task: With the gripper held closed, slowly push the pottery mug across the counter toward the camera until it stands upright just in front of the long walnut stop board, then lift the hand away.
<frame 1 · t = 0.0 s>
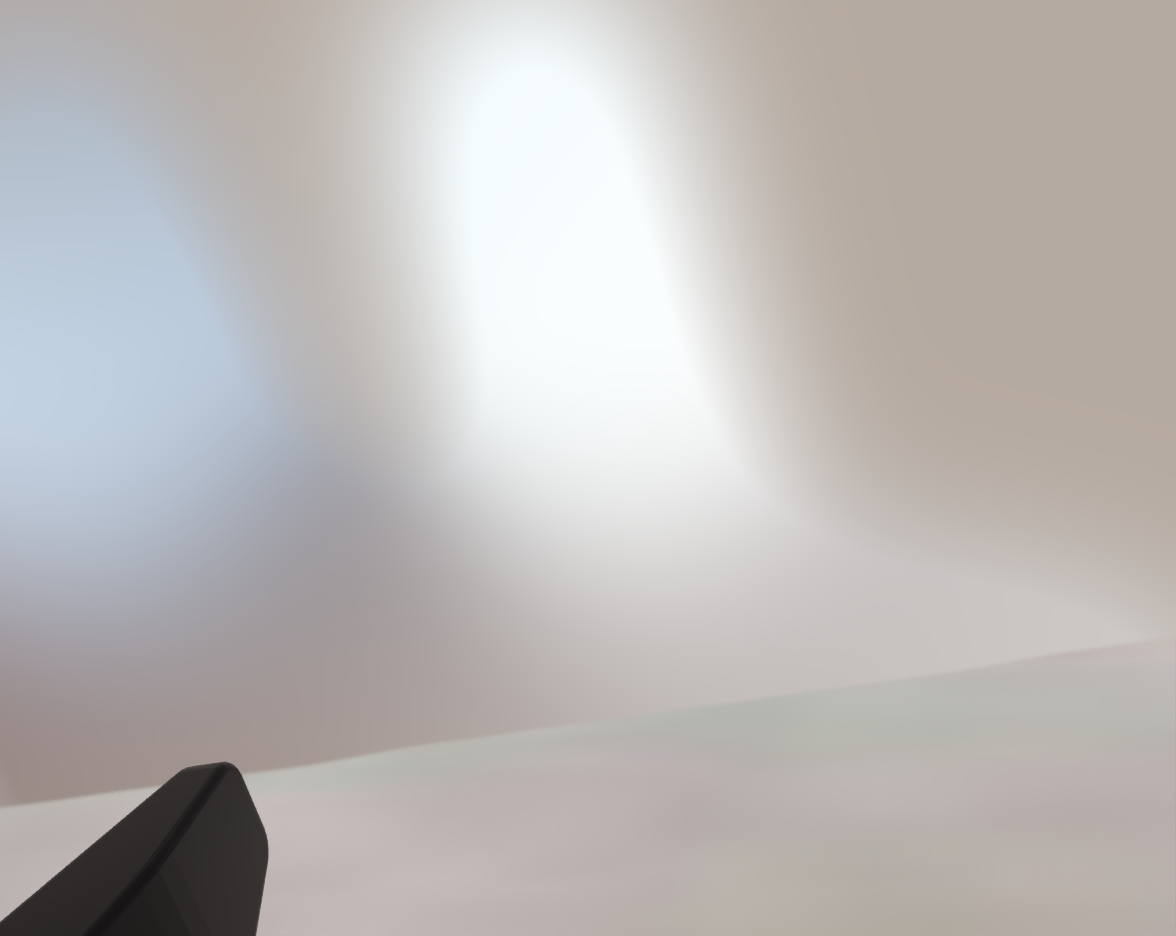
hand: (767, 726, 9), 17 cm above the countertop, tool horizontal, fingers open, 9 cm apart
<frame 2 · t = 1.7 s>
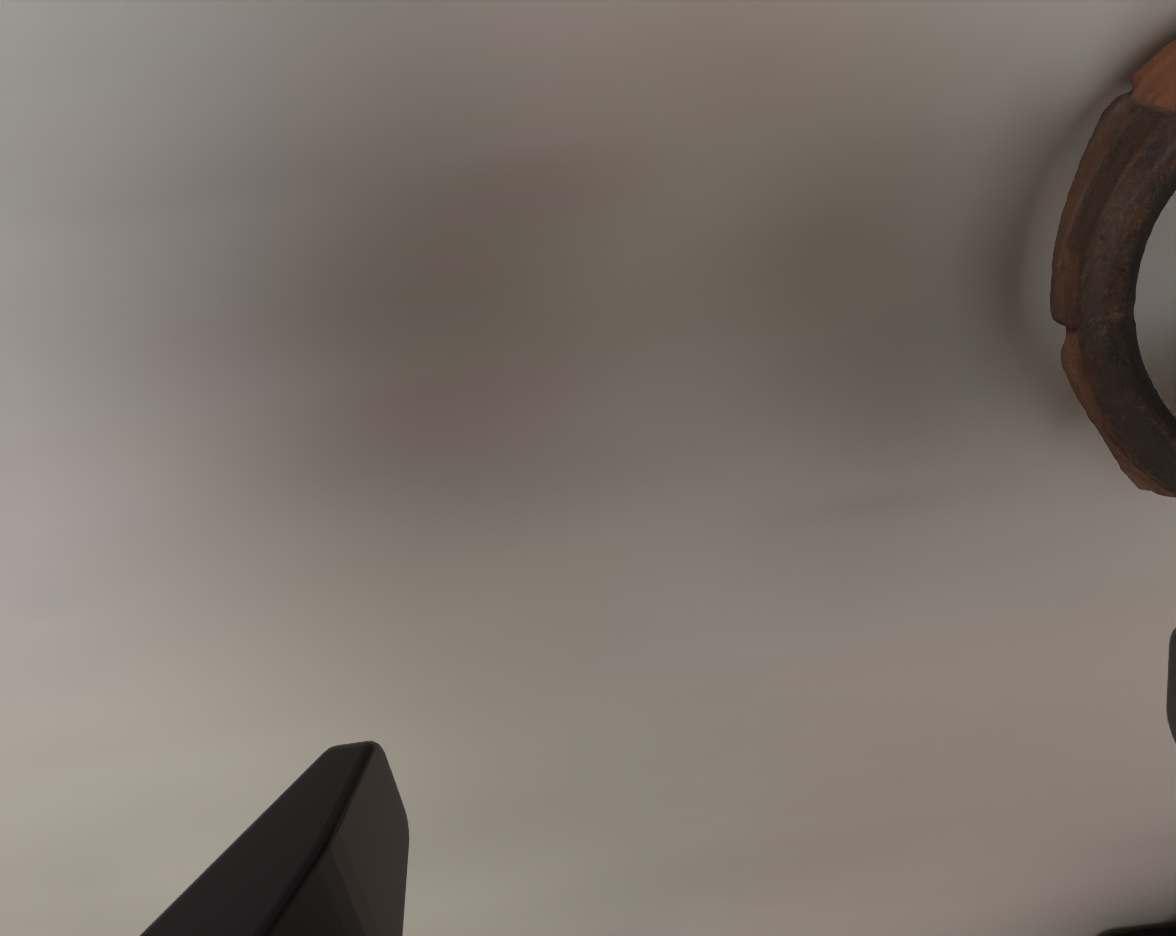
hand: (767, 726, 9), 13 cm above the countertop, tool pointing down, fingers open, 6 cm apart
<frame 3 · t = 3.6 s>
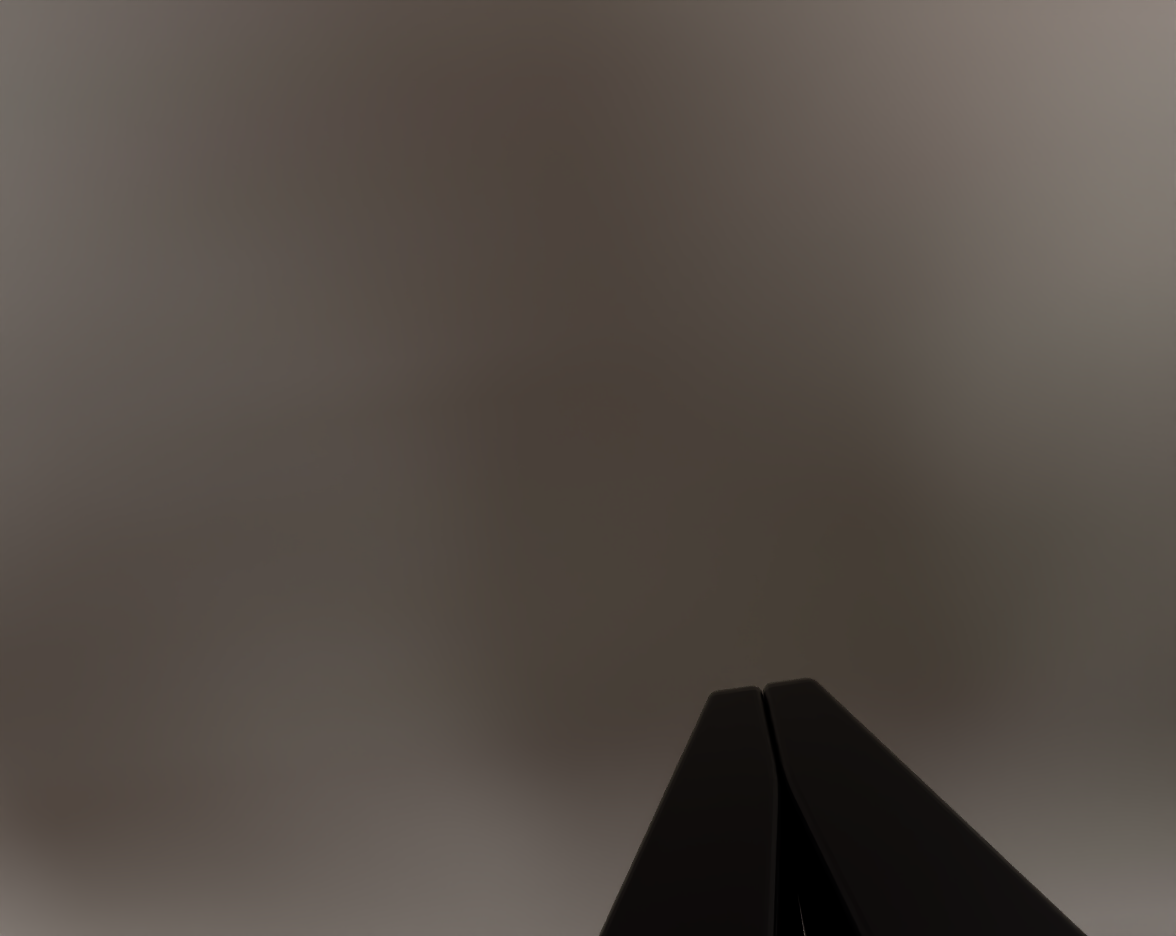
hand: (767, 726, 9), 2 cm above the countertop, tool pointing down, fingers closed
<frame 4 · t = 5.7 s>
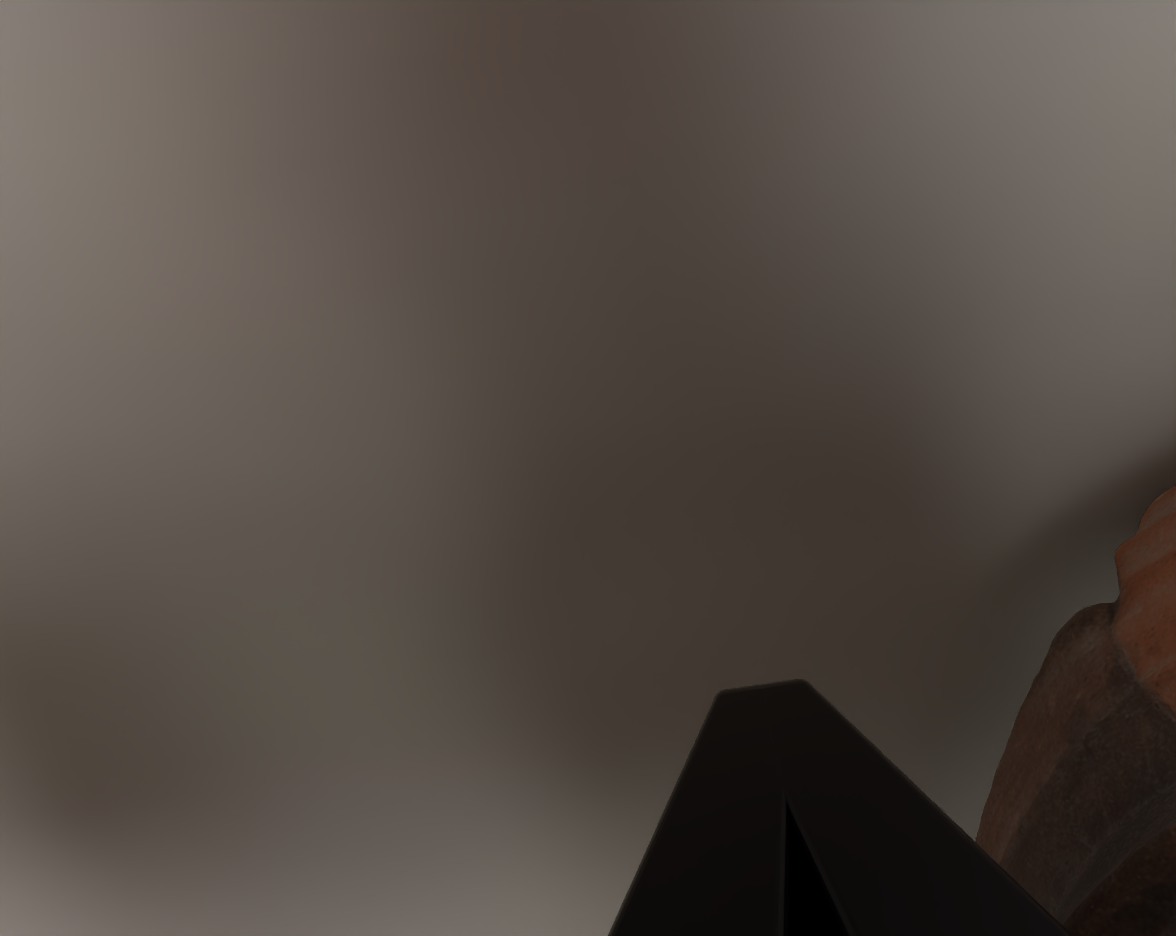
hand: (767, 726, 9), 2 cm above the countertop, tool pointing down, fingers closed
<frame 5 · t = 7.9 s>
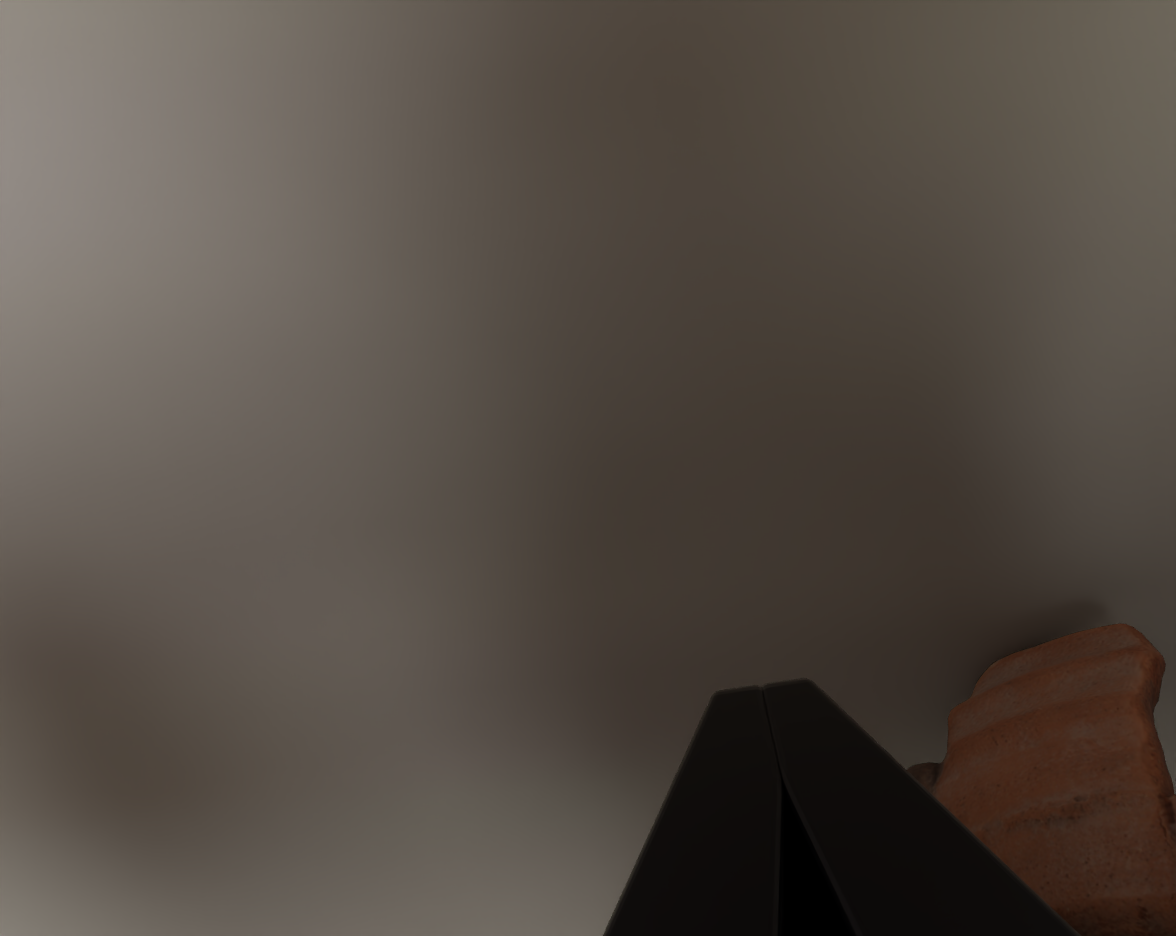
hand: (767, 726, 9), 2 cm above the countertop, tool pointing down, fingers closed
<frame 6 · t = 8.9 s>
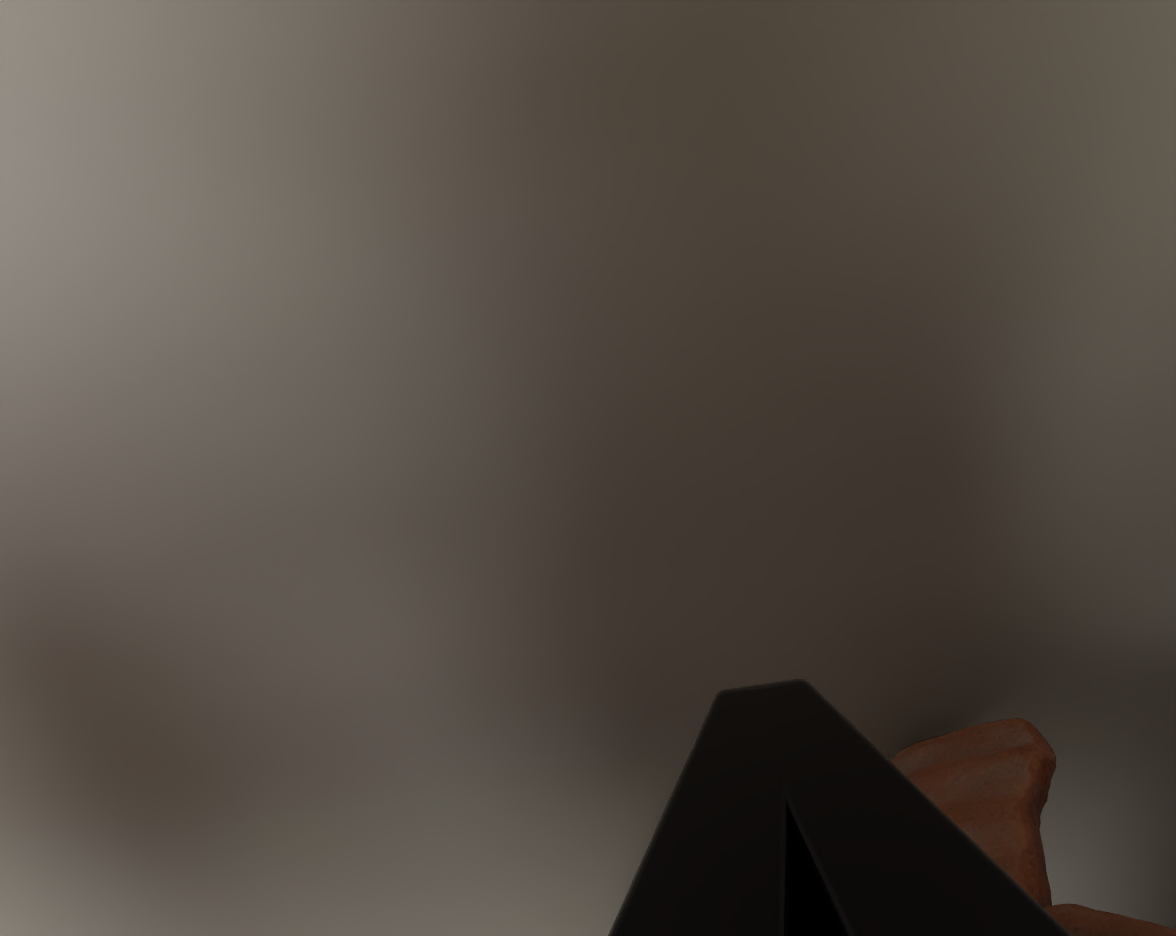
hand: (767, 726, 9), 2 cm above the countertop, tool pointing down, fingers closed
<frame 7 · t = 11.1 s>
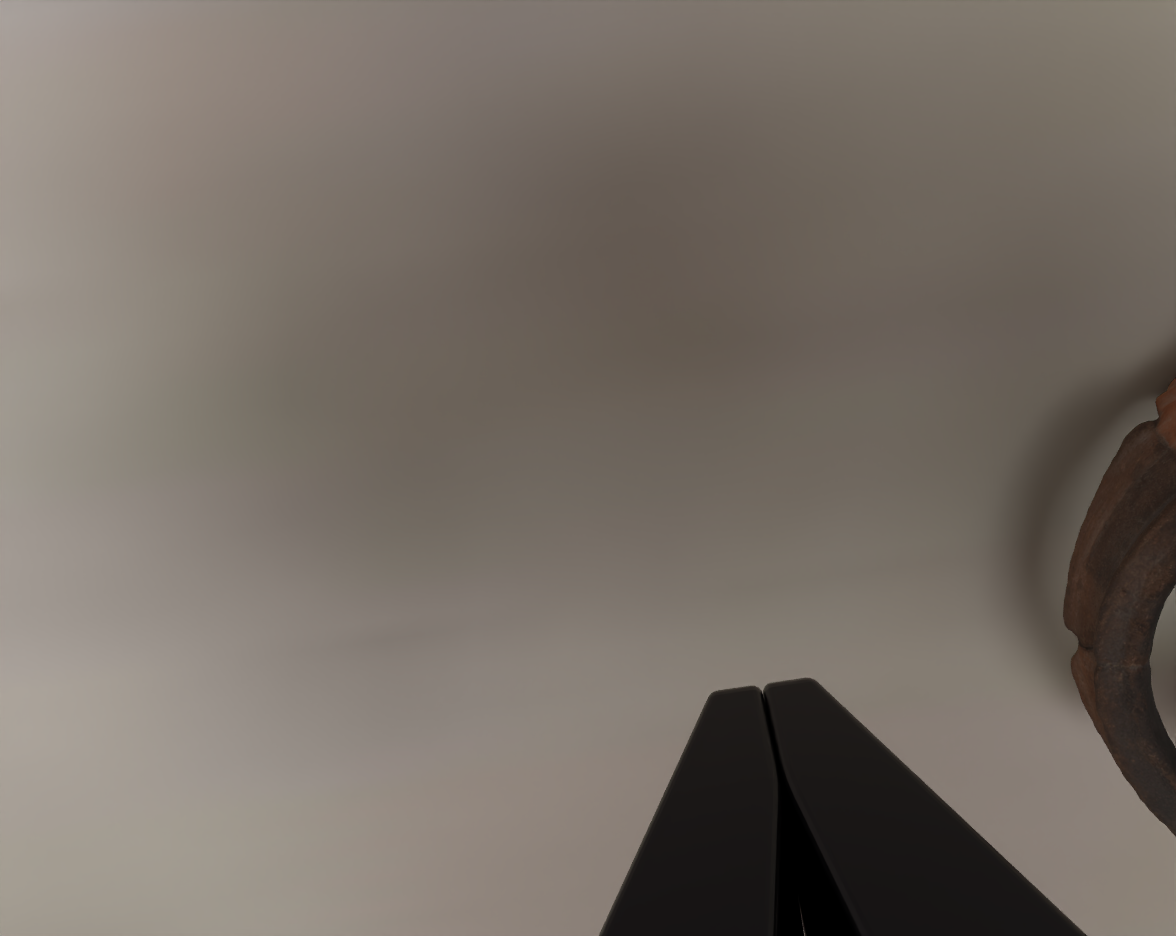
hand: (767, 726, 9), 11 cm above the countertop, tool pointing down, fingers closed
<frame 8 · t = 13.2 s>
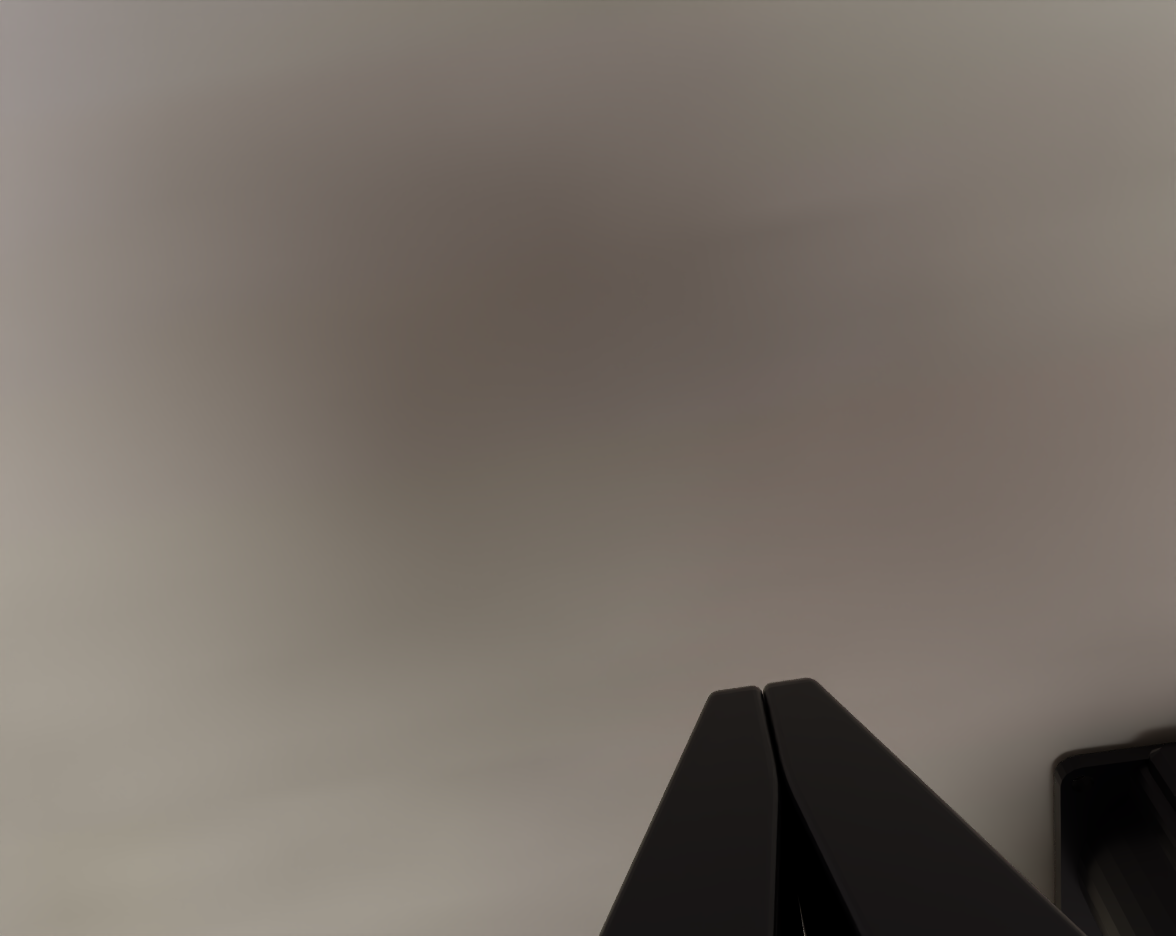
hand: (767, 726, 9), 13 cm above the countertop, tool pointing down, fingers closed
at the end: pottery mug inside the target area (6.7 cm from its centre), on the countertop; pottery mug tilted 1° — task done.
